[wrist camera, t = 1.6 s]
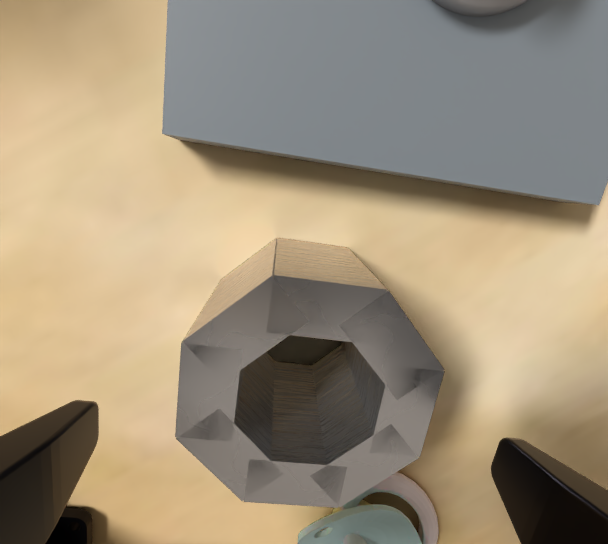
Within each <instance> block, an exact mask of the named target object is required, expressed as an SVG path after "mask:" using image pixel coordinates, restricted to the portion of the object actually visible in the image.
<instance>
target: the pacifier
mask: <svg viewBox="0 0 608 544" xmlns="http://www.w3.org/2000/svg"><path fill="white" fill-rule="evenodd" d="M376 492H388V493H391V494H394V495H397V496H399V497H400V498H402V499H404V500H405V501H407V502H408V503H409V504H410V505H411V506H412V507H413V508H414V510H415V511H416V513H417V514H418V520H419V529H418V533H417V531H416V529H415V528H414V526H413V524H412V523H411V521H410V520H409V518H408V517H407V516H406V515H405V514H403V513H402V512H401V511H400V510H398V509H396V508H394V507H391V506H388V505H379V504H370V503H368V502H366V501H364V500H362V499H363V498H365V497H366V496H368V495H369V494H373V493H376ZM327 527H328V528H327ZM324 528H326V529H324ZM322 529H324V530H322ZM320 530H322V531H320ZM438 534H439V530H438V519H437V515H436V512H435V509H434V506H433V504H432V502H431V501H430V499H429V498H428V496H427V494H426V493H425V492H424V491H423V490H422V489H421V488H420V487H419V486H418V485H417V484H416V483H415V482H414V481H413V480H411V479H410V478H408V477H406V476H405V475H403V474H401V473H398V472H396V473H394V474H393V475H391V476H389V477H388V478H386V479H385V480H383V481H381V482H380V483H378V484H377V485H375V486H373V487H372V488H370V489H369V490H367V491H365V492H364V493H362V494H360V495H359V496H357V497H356V498H354V499H352V500H351V501H349V502H348V503H346V504H344V505H343V506H341V507H339V506H338V508H334V509H333V512H332V514H330V515H328V516H325V517H323V518H321V519H319V520H318V521H316V522H314V523H312V524H310V525H309V526H307V527H306V528H304V529H303V530H301V532H300V533H299V535H298V544H437V540H438Z"/></svg>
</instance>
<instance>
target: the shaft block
mask: <svg viewBox="0 0 608 544" xmlns="http://www.w3.org/2000/svg"><path fill="white" fill-rule="evenodd" d="M162 134H164V135H167V136H170V137H172V138H175V139H178V140H183V141H190V142H196V143H202V144H208V145H214V146H220V147H226V148H233V149H239V150H245V151H251V152H257V153H263V154H269V155H276V156H282V157H288V158H294V159H300V160H306V161H312V162H319V163H325V164H331V165H337V166H343V167H349V168H355V169H362V170H368V171H374V172H380V173H386V174H392V175H398V176H405V177H411V178H417V179H423V180H429V181H435V182H442V183H448V184H454V185H460V186H466V187H472V188H478V189H485V190H491V191H497V192H503V193H509V194H515V195H521V196H528V197H534V198H540V199H546V200H552V201H558V202H566V203H578V204H591V205H599V204H600V201H601V198H602V195H603V193H604V190H605V187H606V185H607V182H608V0H168V10H167V34H166V58H165V82H164V106H163V130H162Z"/></svg>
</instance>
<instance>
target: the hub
mask: <svg viewBox="0 0 608 544" xmlns="http://www.w3.org/2000/svg"><path fill="white" fill-rule="evenodd" d="M289 335H293V336H302V337H311V338H319V339H328V340H337V341H342V345H341V346H339V347H338V348H336V349H335V350H333V351H332V352H330V353H329V354H327V355H326V356H325V357H323V358H322V359H320V360H319V361H317V362H316V363H314V364H313V365H303V364H294V363H284V362H275V361H274V360H273V359H272V357H271V356H270V355H269V354H268V353H267V351H268V350H270V349H271V348H272V347H274V346H275V345H277V344H278V343H280V342H281V341H282V340H284V339H285V338H287V337H288V336H289ZM443 375H444V368H443V367H442V366H441V364H440V363H439V361H438V360H437V358H436V357H435V356H434V354H433V353H432V351H431V350H430V349H429V347H428V346H427V344H426V343H425V341H424V340H423V339H422V337H421V336H420V334H419V333H418V332H417V330H416V329H415V327H414V326H413V324H412V323H411V322H410V320H409V319H408V317H407V316H406V314H405V313H404V312H403V310H402V309H401V307H400V306H399V305H398V303H397V302H396V300H395V299H394V297H393V296H392V295H391V293H390V292H389V290H388V289H387V288H386V287H385V286H384V285H383V284H382V283H381V282H380V281H379V280H378V279H377V278H376V277H375V276H374V275H373V274H372V272H371V271H370V270H369V269H368V268H367V267H366V266H365V265H364V264H363V263H362V262H361V261H360V260H359V259H358V258H357V257H356V256H355V255H354V254H353V252H352V251H351V250H350V249H349V248H347V247H341V246H333V245H326V244H319V243H312V242H305V241H298V240H290V239H283V238H276V239H274V240H273V241H272V242H270V243H269V244H268V245H266V246H265V247H264V248H262V249H261V250H260V251H258V252H257V253H256V254H254V255H253V256H252V257H250V258H249V259H248V260H246V261H245V262H244V263H242V264H241V265H240V266H238V267H237V268H236V269H234V270H233V271H232V272H230V273H229V274H228V275H226V276H225V277H224V278H222V279H221V280H220V282H219V283H218V285H217V287H216V288H215V290H214V291H213V293H212V295H211V296H210V298H209V299H208V301H207V303H206V304H205V306H204V307H203V309H202V311H201V312H200V314H199V315H198V317H197V319H196V320H195V322H194V323H193V325H192V327H191V328H190V330H189V331H188V333H187V335H186V336H185V338H184V339H183V341H182V343H181V356H180V372H179V387H178V403H177V418H176V434H175V437H176V439H177V440H178V441H179V442H180V443H181V444H182V445H183V446H184V447H185V448H186V449H187V450H188V451H190V452H191V453H192V454H193V455H194V456H195V457H196V458H197V459H198V460H199V461H200V462H201V463H202V464H203V465H204V466H205V467H207V468H208V469H209V470H210V471H211V472H212V473H213V474H214V475H215V476H216V477H217V478H218V479H219V480H220V481H221V482H222V483H223V484H225V485H226V486H227V487H228V488H229V489H230V490H231V491H232V492H233V493H234V494H235V495H236V496H237V497H238V498H239V499H240V500H241V501H243V500H244V502H255V503H271V504H286V505H302V506H318V507H333V508H338V506H339V507H341V506H343V505H344V504H346V503H348V502H349V501H351V500H352V499H354V498H356V497H357V496H359V495H360V494H362V493H364V492H365V491H367V490H369V489H370V488H372V487H373V486H375V485H377V484H378V483H380V482H381V481H383V480H385V479H386V478H388V477H389V476H391V475H393V474H394V473H396V472H397V471H399V470H401V469H402V468H404V467H405V466H407V465H409V464H410V463H412V462H413V461H415V460H417V459H418V458H419V457H420V455H421V451H422V448H423V444H424V441H425V437H426V434H427V430H428V427H429V423H430V420H431V416H432V413H433V409H434V406H435V402H436V399H437V396H438V392H439V389H440V385H441V382H442V378H443Z"/></svg>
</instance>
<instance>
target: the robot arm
mask: <svg viewBox="0 0 608 544" xmlns="http://www.w3.org/2000/svg"><path fill="white" fill-rule="evenodd" d="M98 434H99V427H98V405H97V403H96V402H93V401H82V400H76V401H73V402H70V403H68V404H66V405H64V406H62V407H60V408H58V409H56V410H54V411H52V412H50V413H48V414H46V415H43V416H41V417H39V418H37V419H35V420H33V421H31V422H29V423H27V424H25V425H23V426H21V427H19V428H17V429H15V430H12V431H10V432H8V433H6V434H4V435H2V436H0V544H92V517H91V514H90V513H89V512H88V511H86V510H83V509H76V508H65V507H66V505H67V503H68V501H69V499H70V497H71V495H72V493H73V491H74V489H75V487H76V485H77V483H78V481H79V479H80V477H81V475H82V473H83V471H84V469H85V467H86V465H87V463H88V461H89V459H90V457H91V455H92V453H93V451H94V449H95V447H96V444H97V441H98ZM491 473H492V477H493V480H494V482H495V485H496V487H497V489H498V492H499V494H500V496H501V498H502V501H503V503H504V505H505V508H506V510H507V512H508V515H509V517H510V519H511V521H512V524H513V526H514V528H515V531H516V533H517V535H518V538H519V540H520V542H521V544H608V490H606V489H604V488H603V487H601V486H599V485H598V484H596V483H594V482H593V481H591V480H589V479H587V478H586V477H584V476H582V475H581V474H579V473H577V472H576V471H574V470H572V469H571V468H569V467H567V466H566V465H564V464H562V463H561V462H559V461H557V460H556V459H554V458H552V457H551V456H549V455H547V454H546V453H544V452H542V451H541V450H539V449H537V448H536V447H534V446H532V445H531V444H529V443H527V442H526V441H524V440H521V439H516V438H503V439H502V440H501V441H500V442H499V445H498V448H497V451H496V454H495V456H494V459H493V462H492V465H491Z"/></svg>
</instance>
